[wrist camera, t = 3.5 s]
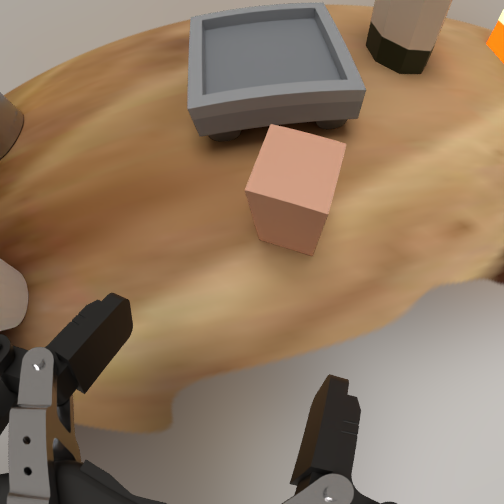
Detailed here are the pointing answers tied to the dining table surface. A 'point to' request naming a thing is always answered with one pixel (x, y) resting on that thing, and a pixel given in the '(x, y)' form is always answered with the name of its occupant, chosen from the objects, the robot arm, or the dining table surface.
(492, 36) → the orange juice
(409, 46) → the wine bottle
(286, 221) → the terracotta block
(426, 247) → the dining table surface
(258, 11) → the grey square tray
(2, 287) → the cup
